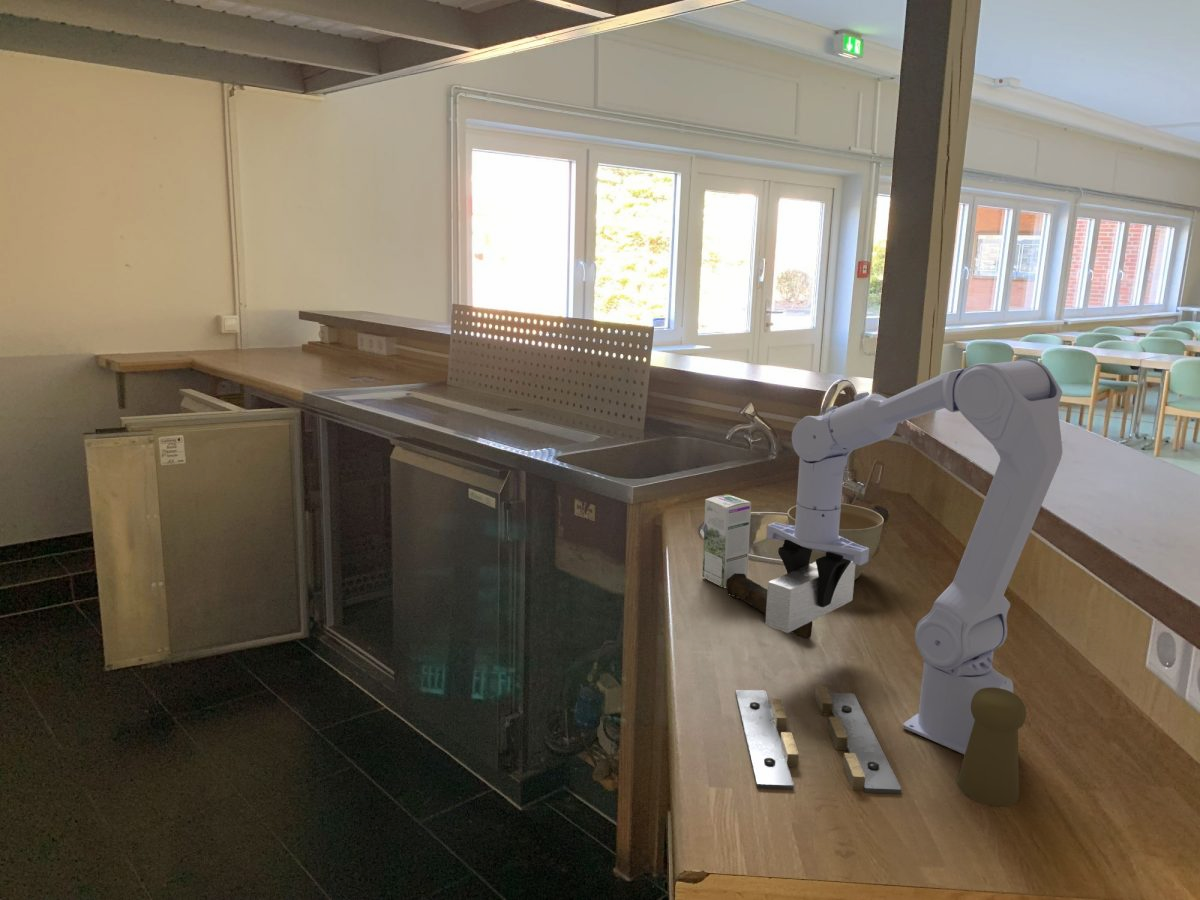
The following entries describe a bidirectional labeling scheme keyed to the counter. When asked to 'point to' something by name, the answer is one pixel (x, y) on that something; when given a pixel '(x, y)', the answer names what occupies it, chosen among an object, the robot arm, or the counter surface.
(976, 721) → the cork
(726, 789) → the counter surface
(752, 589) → the brown wooden log
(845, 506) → the planter bowl
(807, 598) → the aluminum bar stock
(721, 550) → the syrup box
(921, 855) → the counter surface
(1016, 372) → the robot arm
